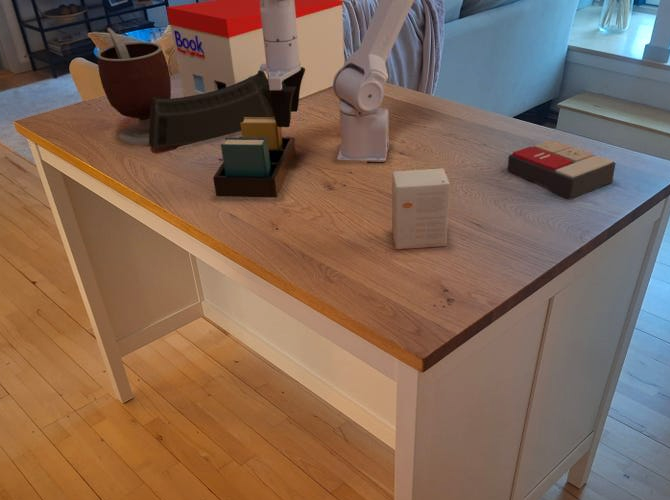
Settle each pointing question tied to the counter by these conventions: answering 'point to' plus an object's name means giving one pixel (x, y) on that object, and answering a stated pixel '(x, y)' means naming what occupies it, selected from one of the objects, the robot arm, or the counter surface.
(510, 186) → the counter surface
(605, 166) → the red and beige box
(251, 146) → the teal book
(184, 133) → the magazine
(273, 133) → the mustard book
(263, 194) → the caddy
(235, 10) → the bookstore
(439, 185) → the small box
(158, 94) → the mate gourd
